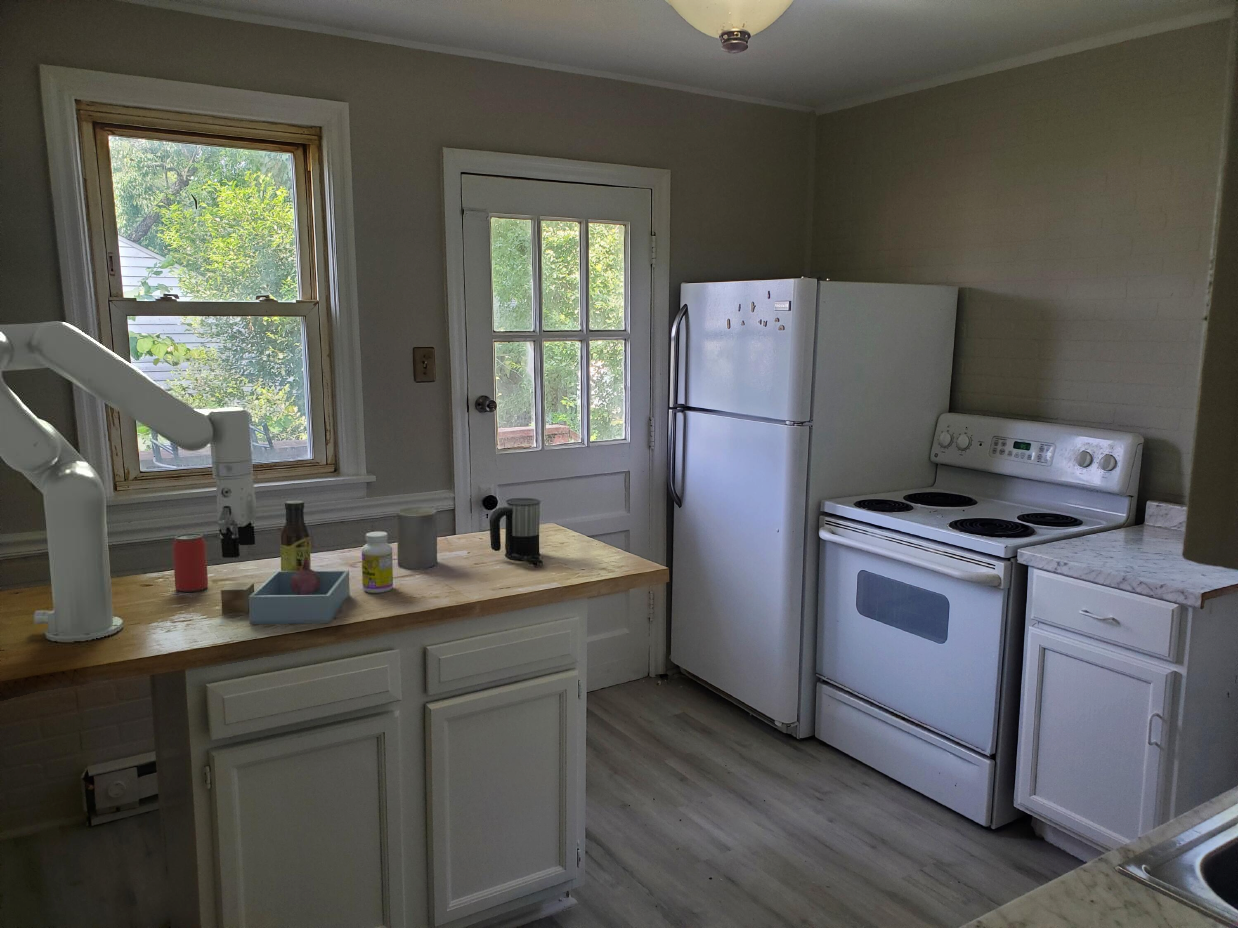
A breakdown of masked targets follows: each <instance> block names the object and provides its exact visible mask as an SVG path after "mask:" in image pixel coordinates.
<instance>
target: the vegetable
mask: <svg viewBox="0 0 1238 928" xmlns="http://www.w3.org/2000/svg"><path fill="white" fill-rule="evenodd" d="M305 555H306V556H305V558H304V564H303V567H302V569H301V570H299V571H298V572H296V573H295V574H294V575H293V576H292V578H291V580H290V587H291V589H292V591H293V592H294V593H295V594H297V595H313V594H314V593H315V592H316V591H317V590H318V589H319V587H320V584H321V579H320V576H319V575H318V574H317V573H316V572H315V571H316V570H313V569H312V568H311V569H309V563H308V560H309V559H308V555H307V554H305Z"/></svg>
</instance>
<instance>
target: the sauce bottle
mask: <svg viewBox="0 0 1238 928" xmlns="http://www.w3.org/2000/svg"><path fill="white" fill-rule="evenodd" d="M284 509H285V523H284V525H283V526H282V529H281V531H280V571H299V570H301V569H302V567H303V564H304V558H305V556H306V555H305V554H307V555H308V559H309V560H308V563H309V569H311V570H312V568H311V536H310V533H309V531H308V528H307V525H306V523H305V518H304V514H305V513H304V509H305V502H304V501H303V500H298V499H297V500H288V501H285V502H284Z"/></svg>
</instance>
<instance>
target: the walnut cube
mask: <svg viewBox="0 0 1238 928" xmlns="http://www.w3.org/2000/svg"><path fill="white" fill-rule="evenodd" d="M254 591H255V582H228V583H227V584H226V585H225V586H224V587H222V588H221V590H220V599H221V601H220V602H221V613H222V614H245V613H246V614H248V613H249V596H250V595H251V594H252V593H253V592H254Z"/></svg>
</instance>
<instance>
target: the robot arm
mask: <svg viewBox="0 0 1238 928" xmlns="http://www.w3.org/2000/svg"><path fill="white" fill-rule="evenodd" d="M45 368H49V369H51V370H52V371H54V372H55V373H57V374H58V375H60V376H62V377H63V378H64V379H66V380H68V381H70V382H72V383H73V384H75V385H76V386H78V387H79V388H81V389H83V390H84V391H86V392H87V393H89V394H90V395H92V396H93V397H95V398H96V399H98V400H100V401H101V402H103V403H105V404H107V405H108V406H110V407H111V408H113V409H114V410H116V411H117V412H120V413H122V414H125V415H126V416H128V417H129V418H132V419H133V420H135V421H136V422H138V423H140V424H142V425H143V426H144V427H145V428H148V429H149V430H151V431H152V432H154V433H156V435H159V436H160V437H162V438H164V440H167V441H168V442H170V443H171V444H173V445H174V446H176V447H178V448H179V449H181V450H184V451H187V452H197V451H200V450H202V449H205V448H206V447H207V446H208V445H209V447H210V454H211V455H210V457H211V458H210V459H211V468H212V477H213V479H216V511H217V523H218V524H217V525H218V528H219V529H218V531H219V538H220V545H221V557H222V558H224V559H227V558H229V559H230V558H232V559H233V558H239V557H240V554H241V553H240V546H254V545H255V544H256V538H255V537H256V535H255V519H256V518H257V516H258V507H257V500H256V498H257V497H256V491H255V486H254V485H255V484H254V480H253V476H254V467H253V455H252V440H251V439H252V437H251V430H250V429H251V426H250V417H249V416H250V415H249V413H248V411H247V409H245V408H242V407H221V408H215V409H199V408H197V409H196V408H193V407H191V406H190V405H188V404H187V403H186V402H184V401H183V400H180V399H179V397H177V396H175V395H173V394H171V393H170V392H169V391H167V390H165V389H164V388H163V387H162V386H160V385H159V384H158V383H156V382H155V381H153V380H152V379H151V378H150V377H148V376H147V375H146V373H144V372H142V371H141V370H140V369H139V368H138V367H136V366H134V365H133V364H132V363H129V362H128V361H126V360H125V359H123V358H122V357H120V356H119V355H118V354H116V353H115V352H113V351H112V350H110V349H108V348H106V347H105V346H104V345H102V344H101V343H99V342H98V341H96V340H95V339H94V338H92V337H90V336H89V335H87V334H85V333H84V332H82V330H80V329H79V328H77V327H75V326H74V325H71V324H70V323H67V322H64V321H58V320H57V321H45V322H34V323H18V324H17V323H14V324H13V323H11V324H10V323H9V324H0V458H1V459H2V460H3V461H4V462H5V464H6V465H7V466H9V467H11V468H12V469H13V470H16V471H17V472H20V473H22V474H23V476H25V477H26V478H27V480H28V481H29V482H30V483H32V485H34V487H35V488H36V489H37V490H39V492H41V493H42V495H43V507H44V515H45V523H46V525H45V526H46V536H47V537H46V538H47V539H46V540H47V550H48V558H49V569H50V570H49V571H50V581H51V595H52V605H53V608H52V610H35V611H34V614H33V623H34V624H36V625H37V624H47V625H48V628H47V629H45V637H46V639H48V640H49V641H52V642H55V641H57V643H75V642H74V641H81V642H86V640H88V641H93V640H92V639H94V640H97V639H96V638H98V639H102V638H105V637H104V636H106V637H108V635H109V636H111V635H114V634H116V633H117V631H118V632H120V631H121V629H123V627H124V621H123V619H122V618H120V617H118V616H114V610H113V609H114V608H113V607H114V606H113V594H112V581H111V568H110V555H109V552H110V551H109V546H108V545H109V543H108V529H107V527H108V526H107V498H106V491H105V487H104V484H103V482H102V479H101V478H100V475H99V474H98V473H97V471H96V469H94V468H93V467H92V465H90V464H89V463H88V462H87V461H86V460H85V459H84V457H83V456H82V455H81V454H80V453H78V451H77V449H75V448H74V446H72V445H71V444H70V443H69V441H67V439H65V437H64V436H63V435H62V434H61V433H60V432H59V431H58V430H57V429H56V428H55V427H54V426H53V425H52V424H51V423H49V422H47V421H45V420H44V419H40V418H38V417H37V415H35V414H34V413H33V412H32V411H31V410H30V409H29V408H28V407H27V405H25V404H24V402H23V401H22V400H21V399H20V398H19V397H18V396H17V394H15V393H14V392H13V390H12V389H10V387H9V386H8V385H7V384H6V382H5V380H4V378H3V372H7V371H19V370H23V371H24V370H32V369H33V370H35V369H36V370H37V369H45ZM101 637H102V638H101Z"/></svg>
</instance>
